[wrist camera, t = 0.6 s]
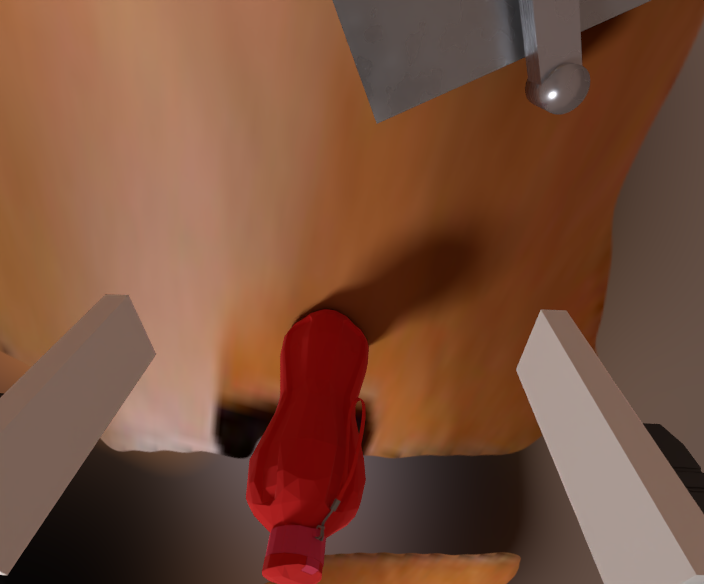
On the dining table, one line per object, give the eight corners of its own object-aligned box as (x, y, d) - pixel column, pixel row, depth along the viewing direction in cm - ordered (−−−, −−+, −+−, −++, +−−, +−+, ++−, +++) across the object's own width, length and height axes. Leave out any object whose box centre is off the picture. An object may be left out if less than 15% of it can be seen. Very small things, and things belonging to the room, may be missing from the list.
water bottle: (389, 335, 44) (402, 586, 25) (325, 369, 49) (292, 606, 29) (341, 288, 40) (309, 543, 21) (276, 330, 45) (198, 573, 25)
